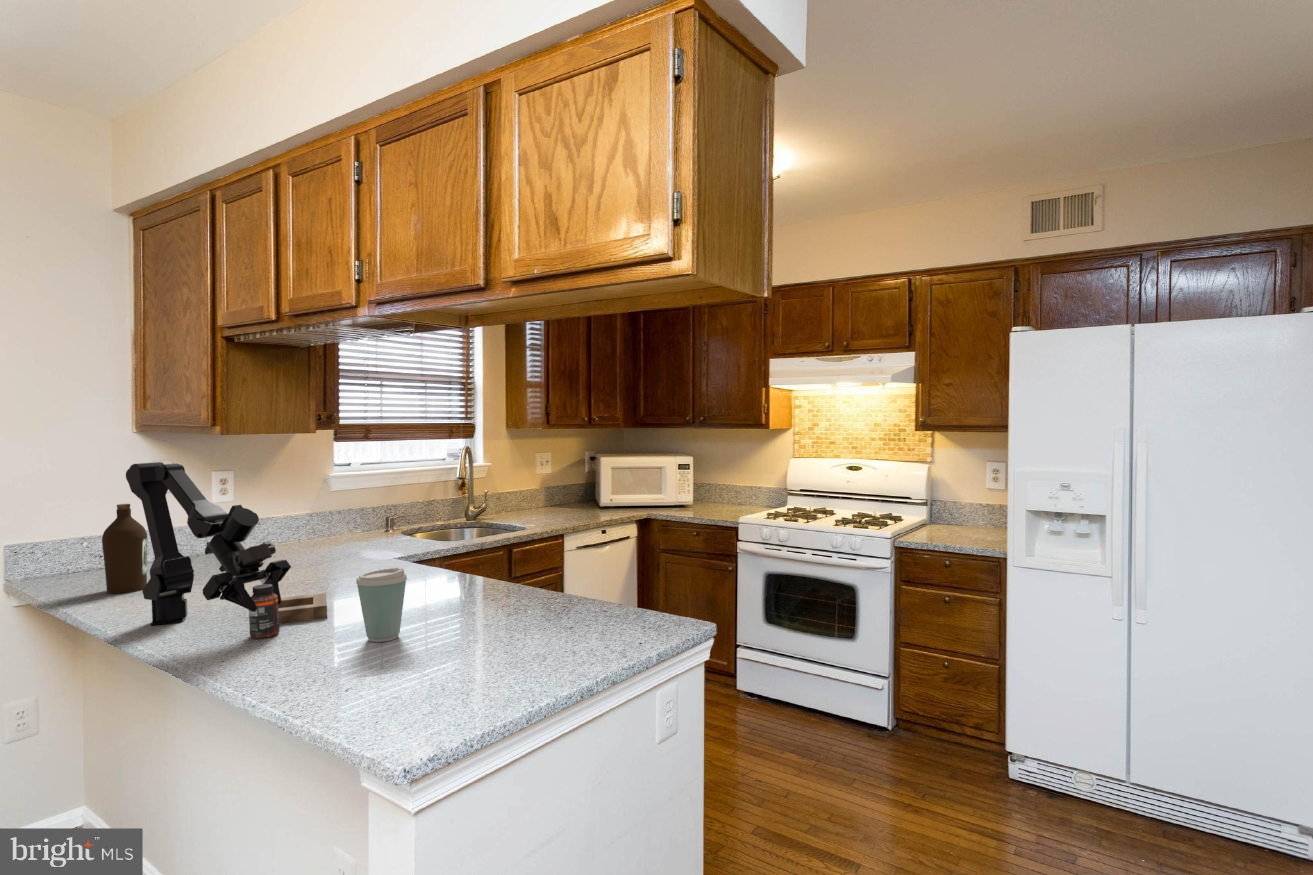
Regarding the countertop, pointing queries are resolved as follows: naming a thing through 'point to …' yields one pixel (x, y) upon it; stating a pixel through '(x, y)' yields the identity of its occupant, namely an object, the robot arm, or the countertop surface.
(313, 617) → the bottle holder
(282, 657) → the countertop surface
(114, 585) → the olive oil
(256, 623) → the supplement bottle
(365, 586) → the disposable coffee cup
